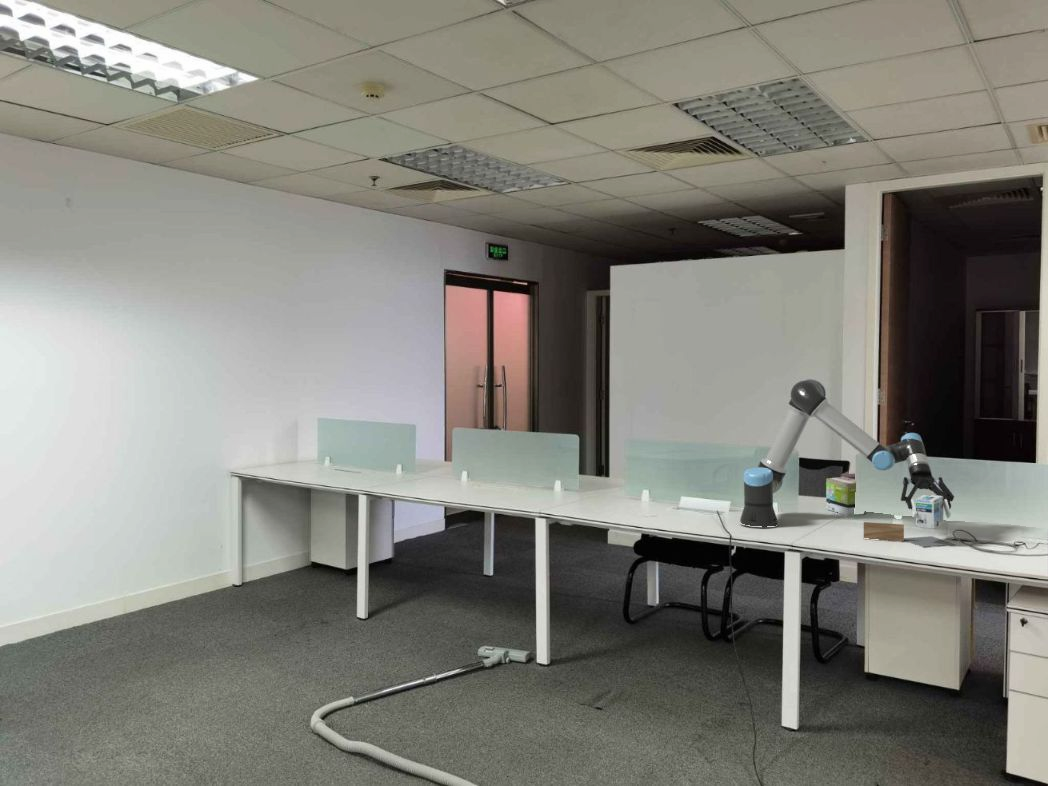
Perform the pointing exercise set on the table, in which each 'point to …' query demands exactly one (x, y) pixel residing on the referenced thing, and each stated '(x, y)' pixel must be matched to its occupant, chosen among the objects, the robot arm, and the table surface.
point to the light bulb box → (929, 511)
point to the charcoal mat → (928, 541)
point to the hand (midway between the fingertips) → (932, 515)
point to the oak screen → (884, 531)
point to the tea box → (841, 495)
